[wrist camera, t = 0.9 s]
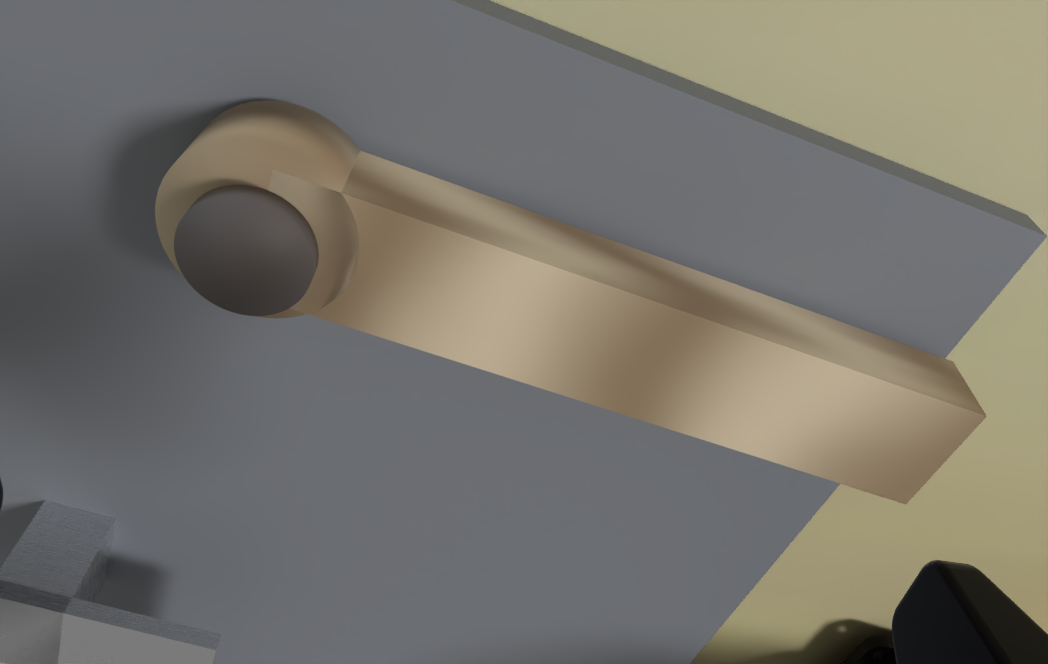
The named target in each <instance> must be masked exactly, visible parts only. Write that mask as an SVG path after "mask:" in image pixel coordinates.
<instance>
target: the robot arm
mask: <svg viewBox="0 0 1048 664" xmlns="http://www.w3.org/2000/svg"><path fill="white" fill-rule="evenodd" d="M2 503H3V486H2V482H1V478H0V511H1V507H2ZM892 637H893V638H889V637H886V636H872V637H869V638H867V639H865V640H864V641H863V642H862V643H861V644H860V645H859V646H858V647H857V648H856V649H854V650H853V651H852V652H851V653H850V654H849V655H848V656H847V657H846V658H845V659H844V660H843V661H842V662H841V663H840V664H1048V634H1047V633H1046V632H1045V631H1044V630H1043V629H1042V628H1041V627H1040V626H1038V625H1037V624H1036V623H1035V622H1034V621H1033V620H1032V619H1031V618H1030V617H1029V616H1028V615H1027V614H1026V613H1025V612H1024V611H1023V610H1021V609H1020V608H1019V607H1018V606H1017V605H1016V604H1015V603H1014V602H1013V601H1012V600H1011V599H1010V598H1009V597H1008V596H1007V595H1006V594H1004V593H1003V592H1002V591H1001V590H1000V589H999V588H998V587H997V586H996V585H995V584H994V583H993V582H992V581H991V580H990V579H989V578H987V577H986V576H985V575H984V574H983V573H982V572H981V571H980V570H978V569H977V568H975V567H974V566H971V565H968V564H962V563H955V562H948V561H941V560H934V561H931V562H929V563H928V564H926V565H925V566H924V567H923V568H922V570H921V571H920V573H919V574H918V576H917V577H916V579H915V580H914V582H913V583H912V585H911V586H910V588H909V589H908V591H907V593H906V594H905V596H904V597H903V599H902V600H901V602H900V603H899V605H898V606H897V608H896V610H895V613H894V616H893V621H892Z"/></svg>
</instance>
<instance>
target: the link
mask: <svg viewBox="0 0 1048 664" xmlns="http://www.w3.org/2000/svg"><path fill="white" fill-rule="evenodd" d="M155 219H156V226H157V231H158V235H159V238H160V241H161V243H162V246H163V248H164V250H165V252H166V254H167V256H168V258H169V259H170V261H171V262H172V263H173V265H174V266H175V268H176V269H177V270H178V271H179V273H180V274H181V275H182V276H183V277H184V278H185V279H186V280H187V282H188V283H189V284H190V285H191V286H192V287H193V289H194V290H196V291H197V292H198V293H199V294H200V295H201V296H202V297H204V298H205V299H206V300H208V301H209V302H211V303H213V304H214V305H216V306H218V307H220V308H222V309H225V310H227V311H230V312H233V313H237V314H241V315H247V316H256V317H263V318H291V317H296V316H302V315H305V314H309V315H312V316H315V317H318V318H321V319H324V320H327V321H331V322H334V323H337V324H340V325H343V326H346V327H349V328H353V329H356V330H359V331H362V332H365V333H368V334H371V335H375V336H378V337H381V338H384V339H387V340H390V341H393V342H397V343H400V344H403V345H406V346H409V347H412V348H415V349H419V350H422V351H425V352H428V353H431V354H434V355H438V356H441V357H444V358H447V359H450V360H453V361H456V362H460V363H463V364H466V365H469V366H472V367H475V368H478V369H482V370H485V371H488V372H491V373H494V374H497V375H500V376H504V377H507V378H510V379H513V380H516V381H519V382H522V383H526V384H529V385H532V386H535V387H538V388H541V389H544V390H548V391H551V392H554V393H557V394H560V395H563V396H566V397H570V398H573V399H576V400H579V401H582V402H585V403H589V404H592V405H595V406H598V407H601V408H604V409H607V410H611V411H614V412H617V413H620V414H623V415H626V416H629V417H633V418H636V419H639V420H642V421H645V422H648V423H651V424H655V425H658V426H661V427H664V428H667V429H670V430H673V431H677V432H680V433H683V434H686V435H689V436H692V437H695V438H699V439H702V440H705V441H708V442H711V443H714V444H718V445H721V446H724V447H727V448H730V449H733V450H736V451H740V452H743V453H746V454H749V455H752V456H755V457H758V458H762V459H765V460H768V461H771V462H774V463H777V464H780V465H784V466H787V467H790V468H793V469H796V470H799V471H802V472H806V473H809V474H812V475H815V476H818V477H821V478H824V479H828V480H831V481H834V482H837V483H840V484H843V485H846V486H850V487H853V488H856V489H859V490H862V491H865V492H869V493H872V494H875V495H878V496H881V497H884V498H887V499H891V500H894V501H897V502H900V503H903V504H907V503H908V502H909V500H910V499H911V498H912V497H913V496H914V495H915V494H916V493H917V492H918V491H919V490H920V488H921V487H922V486H923V485H924V484H925V483H926V482H927V481H928V480H929V479H930V478H931V476H932V475H933V474H934V473H935V472H936V471H937V470H938V469H939V468H940V467H941V465H942V464H943V463H944V462H945V461H946V460H947V459H948V458H949V457H950V456H951V455H952V453H953V452H954V451H955V450H956V449H957V448H958V447H959V446H960V445H961V444H962V443H963V441H964V440H965V439H966V438H967V437H968V436H969V435H970V434H971V433H972V432H973V431H974V429H975V428H976V427H977V426H978V425H979V424H980V423H981V422H982V421H983V420H984V419H985V417H986V414H985V413H984V411H983V410H982V408H981V406H980V405H979V403H978V401H977V400H976V398H975V397H974V395H973V393H972V392H971V390H970V388H969V387H968V385H967V384H966V382H965V380H964V379H963V377H962V375H961V374H960V372H959V371H958V369H957V367H956V366H955V364H954V362H952V361H950V360H947V359H944V358H941V357H938V356H936V355H933V354H930V353H927V352H924V351H922V350H919V349H916V348H913V347H910V346H908V345H905V344H902V343H899V342H896V341H894V340H891V339H888V338H885V337H882V336H880V335H877V334H874V333H871V332H868V331H865V330H863V329H860V328H857V327H854V326H851V325H849V324H846V323H843V322H840V321H837V320H835V319H832V318H829V317H826V316H823V315H821V314H818V313H815V312H812V311H809V310H807V309H804V308H801V307H798V306H795V305H792V304H790V303H787V302H784V301H781V300H778V299H776V298H773V297H770V296H767V295H764V294H762V293H759V292H756V291H753V290H750V289H748V288H745V287H742V286H739V285H736V284H734V283H731V282H728V281H725V280H722V279H720V278H717V277H714V276H711V275H708V274H705V273H703V272H700V271H697V270H694V269H691V268H689V267H686V266H683V265H680V264H677V263H675V262H672V261H669V260H666V259H663V258H661V257H658V256H655V255H652V254H649V253H647V252H644V251H641V250H638V249H635V248H633V247H630V246H627V245H624V244H621V243H618V242H616V241H613V240H610V239H607V238H604V237H602V236H599V235H596V234H593V233H590V232H588V231H585V230H582V229H579V228H576V227H574V226H571V225H568V224H565V223H562V222H560V221H557V220H554V219H551V218H548V217H545V216H543V215H540V214H537V213H534V212H531V211H529V210H526V209H523V208H520V207H517V206H515V205H512V204H509V203H506V202H503V201H501V200H498V199H495V198H492V197H489V196H487V195H484V194H481V193H478V192H475V191H473V190H470V189H467V188H464V187H461V186H458V185H456V184H453V183H450V182H447V181H444V180H442V179H439V178H436V177H433V176H430V175H428V174H425V173H422V172H419V171H416V170H414V169H411V168H408V167H405V166H402V165H400V164H397V163H394V162H391V161H388V160H386V159H383V158H380V157H377V156H374V155H371V154H369V153H366V152H363V151H360V149H359V148H358V146H357V145H356V144H355V143H354V141H353V140H352V139H351V138H350V137H349V136H348V135H347V134H346V133H345V132H344V131H343V130H342V129H341V128H340V127H339V126H337V125H336V124H335V123H333V122H332V121H330V120H329V119H328V118H326V117H324V116H322V115H321V114H319V113H317V112H315V111H313V110H310V109H308V108H306V107H303V106H299V105H296V104H293V103H288V102H282V101H270V100H263V101H252V102H248V103H243V104H240V105H237V106H235V107H232V108H230V109H228V110H226V111H224V112H223V113H221V114H219V115H218V116H217V117H216V118H214V119H213V120H212V121H211V122H210V123H209V124H208V125H207V126H206V127H205V128H204V130H203V131H202V132H201V133H200V134H199V135H198V136H197V138H196V139H195V140H194V141H193V142H192V143H191V145H190V146H189V147H188V148H187V149H186V150H185V151H184V153H183V154H182V155H181V156H180V157H179V158H178V160H177V161H176V162H175V163H174V164H173V165H172V166H171V168H170V169H169V170H168V172H167V173H166V175H165V176H164V178H163V180H162V182H161V184H160V187H159V189H158V193H157V197H156V204H155Z"/></svg>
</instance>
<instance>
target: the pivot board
mask: <svg viewBox="0 0 1048 664" xmlns="http://www.w3.org/2000/svg"><path fill="white" fill-rule="evenodd" d="M263 100H270V101H282V102H288V103H293V104H296V105H299V106H303V107H306V108H308V109H310V110H313V111H315V112H317V113H319V114H321V115H322V116H324V117H326V118H328V119H329V120H330V121H332V122H333V123H335V124H336V125H337V126H339V127H340V128H341V129H342V130H343V131H344V132H345V133H346V134H347V135H348V136H349V137H350V138H351V139H352V140H353V141H354V143H355V144H356V145H357V146H358V148H359V149H360V151H363V152H366V153H369V154H371V155H374V156H377V157H380V158H383V159H386V160H388V161H391V162H394V163H397V164H400V165H402V166H405V167H408V168H411V169H414V170H416V171H419V172H422V173H425V174H428V175H430V176H433V177H436V178H439V179H442V180H444V181H447V182H450V183H453V184H456V185H458V186H461V187H464V188H467V189H470V190H473V191H475V192H478V193H481V194H484V195H487V196H489V197H492V198H495V199H498V200H501V201H503V202H506V203H509V204H512V205H515V206H517V207H520V208H523V209H526V210H529V211H531V212H534V213H537V214H540V215H543V216H545V217H548V218H551V219H554V220H557V221H560V222H562V223H565V224H568V225H571V226H574V227H576V228H579V229H582V230H585V231H588V232H590V233H593V234H596V235H599V236H602V237H604V238H607V239H610V240H613V241H616V242H618V243H621V244H624V245H627V246H630V247H633V248H635V249H638V250H641V251H644V252H647V253H649V254H652V255H655V256H658V257H661V258H663V259H666V260H669V261H672V262H675V263H677V264H680V265H683V266H686V267H689V268H691V269H694V270H697V271H700V272H703V273H705V274H708V275H711V276H714V277H717V278H720V279H722V280H725V281H728V282H731V283H734V284H736V285H739V286H742V287H745V288H748V289H750V290H753V291H756V292H759V293H762V294H764V295H767V296H770V297H773V298H776V299H778V300H781V301H784V302H787V303H790V304H792V305H795V306H798V307H801V308H804V309H807V310H809V311H812V312H815V313H818V314H821V315H823V316H826V317H829V318H832V319H835V320H837V321H840V322H843V323H846V324H849V325H851V326H854V327H857V328H860V329H863V330H865V331H868V332H871V333H874V334H877V335H880V336H882V337H885V338H888V339H891V340H894V341H896V342H899V343H902V344H905V345H908V346H910V347H913V348H916V349H919V350H922V351H924V352H927V353H930V354H933V355H936V356H938V357H941V358H944V359H945V358H946V357H947V355H948V354H949V353H950V352H951V351H952V349H953V348H954V347H955V346H956V345H957V343H958V342H959V341H960V340H961V339H962V337H963V336H964V335H965V334H966V333H967V331H968V330H969V329H970V328H971V327H972V325H973V324H974V323H975V322H976V321H977V320H978V318H979V317H980V316H981V315H982V314H983V312H984V311H985V310H986V309H987V308H988V306H989V305H990V304H991V303H992V302H993V300H994V299H995V298H996V297H997V296H998V294H999V293H1000V292H1001V291H1002V290H1003V288H1004V287H1005V286H1006V285H1007V284H1008V282H1009V281H1010V280H1011V279H1012V278H1013V276H1014V275H1015V274H1016V273H1017V272H1018V270H1019V269H1020V268H1021V267H1022V266H1023V264H1024V263H1025V262H1026V261H1027V260H1028V258H1029V257H1030V256H1031V255H1032V254H1033V253H1034V251H1035V250H1036V249H1037V248H1038V247H1039V245H1040V244H1041V243H1042V242H1043V241H1044V239H1045V238H1046V237H1047V236H1046V235H1045V234H1044V232H1043V231H1042V230H1041V229H1040V228H1039V227H1038V226H1037V225H1036V224H1035V223H1034V222H1033V221H1032V220H1031V219H1030V218H1029V217H1028V216H1027V215H1025V214H1023V213H1020V212H1018V211H1015V210H1013V209H1010V208H1008V207H1005V206H1003V205H1000V204H998V203H995V202H993V201H990V200H988V199H985V198H983V197H980V196H978V195H975V194H973V193H970V192H968V191H965V190H963V189H960V188H958V187H955V186H953V185H950V184H948V183H945V182H943V181H940V180H938V179H935V178H933V177H930V176H928V175H925V174H923V173H920V172H918V171H915V170H913V169H910V168H908V167H905V166H903V165H900V164H898V163H895V162H893V161H890V160H888V159H885V158H883V157H880V156H878V155H875V154H873V153H870V152H868V151H865V150H863V149H860V148H858V147H855V146H853V145H850V144H848V143H845V142H843V141H840V140H838V139H835V138H833V137H830V136H828V135H825V134H823V133H820V132H818V131H815V130H813V129H810V128H808V127H805V126H803V125H800V124H797V123H795V122H792V121H790V120H787V119H785V118H782V117H780V116H777V115H775V114H772V113H770V112H767V111H765V110H762V109H760V108H757V107H755V106H752V105H750V104H747V103H745V102H742V101H740V100H737V99H735V98H732V97H730V96H727V95H725V94H722V93H720V92H717V91H715V90H712V89H710V88H707V87H705V86H702V85H700V84H697V83H695V82H692V81H690V80H687V79H685V78H682V77H680V76H677V75H675V74H672V73H670V72H667V71H665V70H662V69H660V68H657V67H655V66H652V65H650V64H647V63H645V62H642V61H640V60H637V59H635V58H632V57H630V56H627V55H625V54H622V53H620V52H617V51H615V50H612V49H610V48H607V47H605V46H602V45H600V44H597V43H595V42H592V41H590V40H587V39H585V38H582V37H580V36H577V35H575V34H572V33H570V32H567V31H565V30H562V29H560V28H557V27H555V26H552V25H549V24H547V23H544V22H542V21H539V20H537V19H534V18H532V17H529V16H527V15H524V14H522V13H519V12H517V11H514V10H512V9H509V8H507V7H504V6H502V5H499V4H497V3H494V2H492V1H489V0H0V478H1V482H2V486H3V503H2V507H1V511H0V568H1V567H2V565H3V564H4V562H5V560H6V559H7V557H8V556H9V554H10V553H11V551H12V550H13V548H14V547H15V545H16V544H17V542H18V541H19V539H20V538H21V536H22V535H23V533H24V532H25V530H26V529H27V527H28V526H29V524H30V523H31V521H32V519H33V518H34V516H35V515H36V513H37V512H38V510H39V509H40V507H41V506H42V504H43V503H44V501H45V500H47V501H51V502H55V503H59V504H63V505H66V506H70V507H74V508H78V509H82V510H85V511H89V512H93V513H97V514H100V515H104V516H108V517H112V518H116V522H115V528H114V535H113V541H112V548H111V554H110V561H109V568H108V574H107V580H106V582H105V584H104V586H103V588H102V590H101V592H100V594H99V596H98V598H97V599H96V601H95V603H97V604H101V605H105V606H109V607H113V608H117V609H121V610H125V611H129V612H133V613H137V614H141V615H145V616H150V617H154V618H158V619H162V620H166V621H170V622H174V623H178V624H182V625H186V626H190V627H194V628H198V629H202V630H206V631H210V632H215V633H219V634H222V635H221V639H220V642H219V646H218V649H217V653H216V656H215V660H214V663H213V664H690V663H691V662H692V661H693V659H694V658H695V657H696V656H697V655H698V653H699V652H700V651H701V650H702V649H703V647H704V646H705V645H706V644H707V643H708V641H709V640H710V639H711V638H712V637H713V635H714V634H715V633H716V632H717V631H718V629H719V628H720V627H721V626H722V625H723V623H724V622H725V621H726V620H727V619H728V617H729V616H730V615H731V614H732V613H733V611H734V610H735V609H736V608H737V607H738V605H739V604H740V603H741V602H742V601H743V599H744V598H745V597H746V596H747V595H748V594H749V592H750V591H751V590H752V589H753V588H754V586H755V585H756V584H757V583H758V582H759V580H760V579H761V578H762V577H763V576H764V574H765V573H766V572H767V571H768V570H769V568H770V567H771V566H772V565H773V564H774V562H775V561H776V560H777V559H778V558H779V556H780V555H781V554H782V553H783V552H784V550H785V549H786V548H787V547H788V546H789V544H790V543H791V542H792V541H793V540H794V538H795V537H796V536H797V535H798V534H799V532H800V531H801V530H802V529H803V528H804V527H805V525H806V524H807V523H808V522H809V521H810V519H811V518H812V517H813V516H814V515H815V513H816V512H817V511H818V510H819V509H820V507H821V506H822V505H823V504H824V503H825V501H826V500H827V499H828V498H829V497H830V495H831V494H832V493H833V492H834V491H835V489H836V488H837V487H838V486H839V485H840V483H837V482H834V481H831V480H828V479H824V478H821V477H818V476H815V475H812V474H809V473H806V472H802V471H799V470H796V469H793V468H790V467H787V466H784V465H780V464H777V463H774V462H771V461H768V460H765V459H762V458H758V457H755V456H752V455H749V454H746V453H743V452H740V451H736V450H733V449H730V448H727V447H724V446H721V445H718V444H714V443H711V442H708V441H705V440H702V439H699V438H695V437H692V436H689V435H686V434H683V433H680V432H677V431H673V430H670V429H667V428H664V427H661V426H658V425H655V424H651V423H648V422H645V421H642V420H639V419H636V418H633V417H629V416H626V415H623V414H620V413H617V412H614V411H611V410H607V409H604V408H601V407H598V406H595V405H592V404H589V403H585V402H582V401H579V400H576V399H573V398H570V397H566V396H563V395H560V394H557V393H554V392H551V391H548V390H544V389H541V388H538V387H535V386H532V385H529V384H526V383H522V382H519V381H516V380H513V379H510V378H507V377H504V376H500V375H497V374H494V373H491V372H488V371H485V370H482V369H478V368H475V367H472V366H469V365H466V364H463V363H460V362H456V361H453V360H450V359H447V358H444V357H441V356H438V355H434V354H431V353H428V352H425V351H422V350H419V349H415V348H412V347H409V346H406V345H403V344H400V343H397V342H393V341H390V340H387V339H384V338H381V337H378V336H375V335H371V334H368V333H365V332H362V331H359V330H356V329H353V328H349V327H346V326H343V325H340V324H337V323H334V322H331V321H327V320H324V319H321V318H318V317H315V316H312V315H309V314H305V315H302V316H296V317H291V318H263V317H256V316H247V315H241V314H237V313H233V312H230V311H227V310H225V309H222V308H220V307H218V306H216V305H214V304H213V303H211V302H209V301H208V300H206V299H205V298H204V297H202V296H201V295H200V294H199V293H198V292H197V291H196V290H194V289H193V287H192V286H191V285H190V284H189V283H188V282H187V280H186V279H185V278H184V277H183V276H182V275H181V274H180V273H179V271H178V270H177V269H176V268H175V266H174V265H173V263H172V262H171V261H170V259H169V258H168V256H167V254H166V252H165V250H164V248H163V246H162V243H161V241H160V238H159V235H158V231H157V226H156V219H155V204H156V197H157V193H158V189H159V187H160V184H161V182H162V180H163V178H164V176H165V175H166V173H167V172H168V170H169V169H170V168H171V166H172V165H173V164H174V163H175V162H176V161H177V160H178V158H179V157H180V156H181V155H182V154H183V153H184V151H185V150H186V149H187V148H188V147H189V146H190V145H191V143H192V142H193V141H194V140H195V139H196V138H197V136H198V135H199V134H200V133H201V132H202V131H203V130H204V128H205V127H206V126H207V125H208V124H209V123H210V122H211V121H212V120H213V119H214V118H216V117H217V116H218V115H219V114H221V113H223V112H224V111H226V110H228V109H230V108H232V107H235V106H237V105H240V104H243V103H248V102H252V101H263Z"/></svg>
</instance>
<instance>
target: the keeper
mask: <svg viewBox="0 0 1048 664" xmlns="http://www.w3.org/2000/svg"><path fill="white" fill-rule="evenodd" d="M115 522H116V518H112V517H108V516H104V515H100V514H97V513H93V512H89V511H85V510H82V509H78V508H74V507H70V506H66V505H63V504H59V503H55V502H51V501H47V500H45V501H44V503H43V504H42V506H41V507H40V509H39V510H38V512H37V513H36V515H35V516H34V518H33V519H32V521H31V523H30V524H29V526H28V527H27V529H26V530H25V532H24V533H23V535H22V536H21V538H20V539H19V541H18V542H17V544H16V545H15V547H14V548H13V550H12V551H11V553H10V554H9V556H8V557H7V559H6V560H5V562H4V564H3V565H2V567H1V568H0V662H1V663H5V664H213V663H214V660H215V656H216V653H217V649H218V646H219V642H220V639H221V635H222V634H219V633H215V632H210V631H206V630H202V629H198V628H194V627H190V626H186V625H182V624H178V623H174V622H170V621H166V620H162V619H158V618H154V617H150V616H145V615H141V614H137V613H133V612H129V611H125V610H121V609H117V608H113V607H109V606H105V605H101V604H97V603H95V601H96V599H97V598H98V596H99V594H100V592H101V590H102V588H103V586H104V584H105V582H106V580H107V574H108V568H109V561H110V554H111V548H112V541H113V535H114V528H115Z"/></svg>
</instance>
